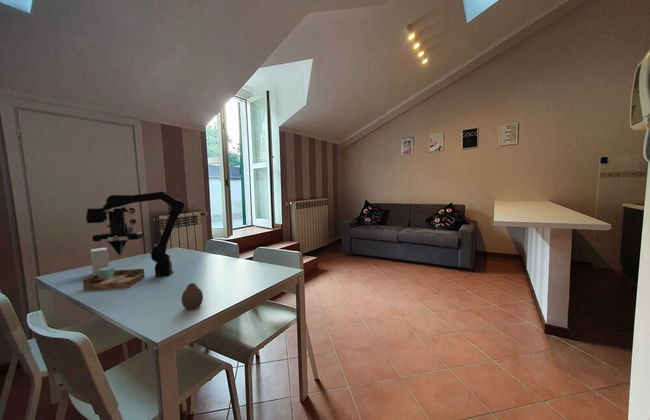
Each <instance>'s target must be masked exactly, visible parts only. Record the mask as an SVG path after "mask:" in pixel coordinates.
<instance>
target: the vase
mask: <svg viewBox="0 0 650 420" xmlns="http://www.w3.org/2000/svg"><path fill="white" fill-rule="evenodd" d="M203 301H204V295H203V292H202V290H201V288H199V286H197V284H196V283H193V282H192V283H188V285H187V286H186V288H185V290H184V291H183V292H182V295H181V304H182V306H183V308H185V310H187V311H194V310H197V309H198V308H200V307H201V306H202V303H203Z"/></svg>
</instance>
